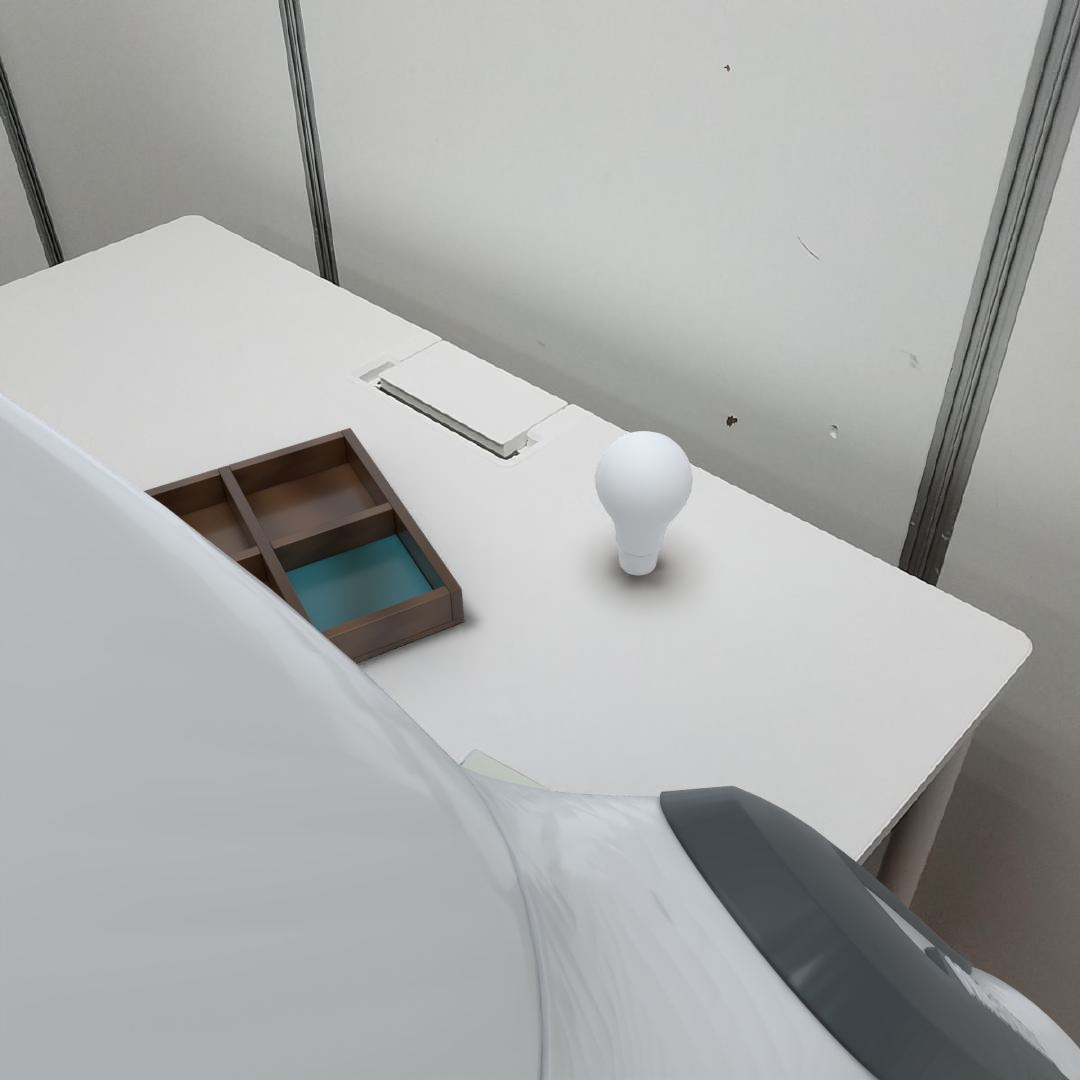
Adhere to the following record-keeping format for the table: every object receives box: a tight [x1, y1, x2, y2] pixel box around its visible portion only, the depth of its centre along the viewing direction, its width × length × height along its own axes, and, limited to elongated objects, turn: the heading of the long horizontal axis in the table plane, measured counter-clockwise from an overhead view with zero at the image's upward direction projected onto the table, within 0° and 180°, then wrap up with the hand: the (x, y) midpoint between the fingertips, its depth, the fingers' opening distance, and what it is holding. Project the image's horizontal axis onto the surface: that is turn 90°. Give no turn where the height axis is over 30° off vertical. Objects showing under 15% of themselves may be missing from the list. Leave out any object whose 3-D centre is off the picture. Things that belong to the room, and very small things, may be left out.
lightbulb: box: [594, 430, 694, 577], centre depth 72 cm, size 6×6×11 cm
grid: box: [143, 427, 465, 664], centre depth 74 cm, size 19×19×3 cm
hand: (485, 840), depth 52 cm, fingers closed on box, 6 cm apart
